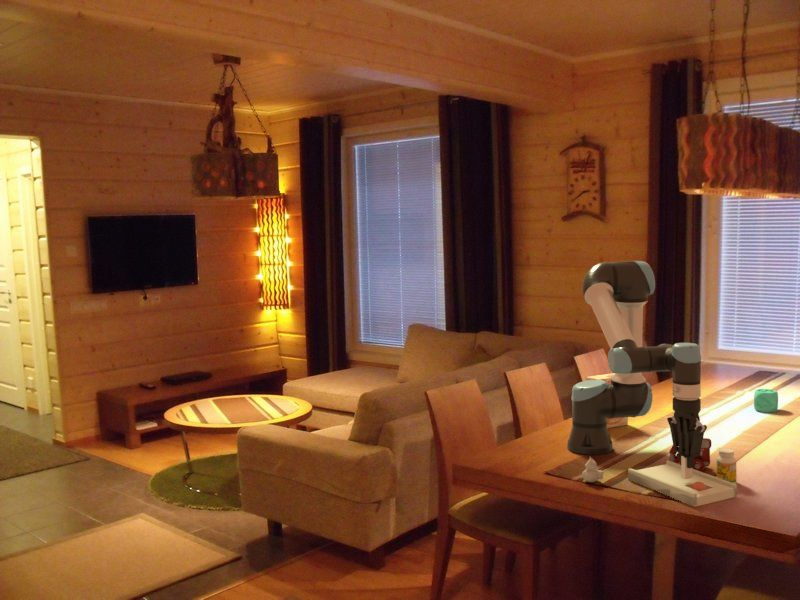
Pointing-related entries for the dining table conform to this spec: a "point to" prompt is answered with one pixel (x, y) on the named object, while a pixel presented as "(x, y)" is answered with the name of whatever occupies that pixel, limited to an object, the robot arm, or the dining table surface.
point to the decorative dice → (766, 400)
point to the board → (683, 484)
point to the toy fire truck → (700, 460)
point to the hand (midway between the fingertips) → (686, 477)
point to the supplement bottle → (726, 465)
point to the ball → (699, 486)
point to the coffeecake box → (610, 421)
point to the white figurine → (592, 472)
